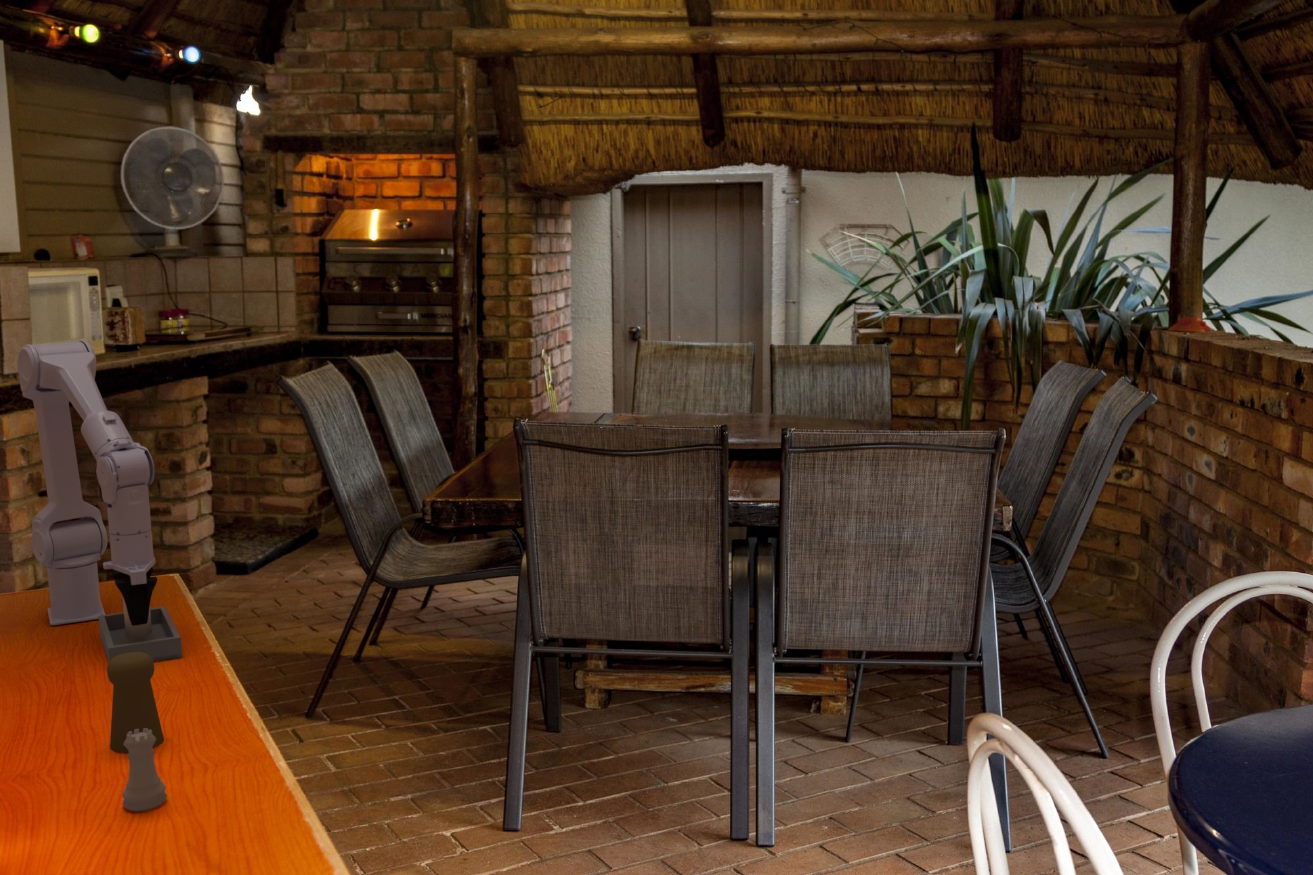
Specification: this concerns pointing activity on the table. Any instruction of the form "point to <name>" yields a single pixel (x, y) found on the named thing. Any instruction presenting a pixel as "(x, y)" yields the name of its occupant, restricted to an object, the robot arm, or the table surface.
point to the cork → (132, 699)
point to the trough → (156, 644)
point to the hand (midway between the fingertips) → (137, 620)
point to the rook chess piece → (142, 774)
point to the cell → (137, 629)
